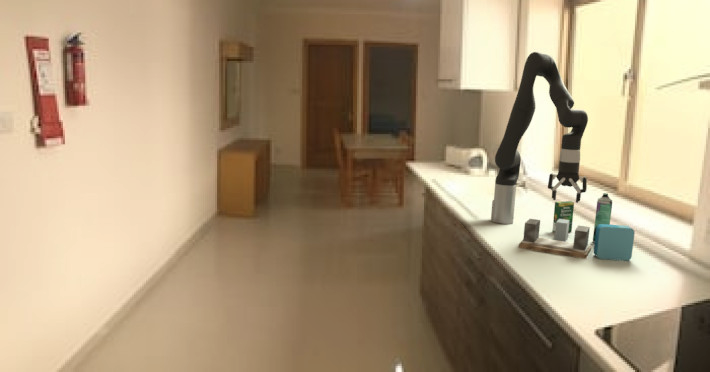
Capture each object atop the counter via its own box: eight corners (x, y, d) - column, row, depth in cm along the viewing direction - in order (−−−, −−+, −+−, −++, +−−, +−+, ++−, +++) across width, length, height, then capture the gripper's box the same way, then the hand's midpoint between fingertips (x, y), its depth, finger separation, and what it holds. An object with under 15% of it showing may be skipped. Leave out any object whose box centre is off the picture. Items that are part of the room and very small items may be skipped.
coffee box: (555, 233, 245) (558, 202, 243) (551, 231, 248) (554, 201, 245) (571, 232, 247) (575, 202, 245) (567, 230, 250) (570, 200, 248)
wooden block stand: (518, 247, 220) (520, 223, 218) (526, 239, 232) (528, 217, 230) (586, 258, 209) (588, 233, 207) (590, 249, 221) (593, 226, 219)
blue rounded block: (626, 257, 213) (630, 225, 211) (631, 261, 208) (635, 228, 206) (592, 255, 214) (596, 223, 212) (596, 258, 210) (600, 226, 208)
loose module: (553, 241, 231) (555, 221, 230) (556, 237, 238) (558, 218, 236) (564, 243, 230) (566, 223, 228) (567, 239, 236) (569, 220, 234)
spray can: (607, 242, 234) (613, 193, 230) (607, 245, 229) (613, 195, 225) (593, 240, 236) (598, 191, 232) (592, 243, 231) (597, 193, 228)
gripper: (549, 159, 228) (545, 200, 231) (587, 163, 222) (583, 204, 224) (552, 158, 235) (548, 197, 237) (590, 161, 228) (585, 201, 231)
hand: (565, 201), depth 231 cm, fingers open, 8 cm apart
